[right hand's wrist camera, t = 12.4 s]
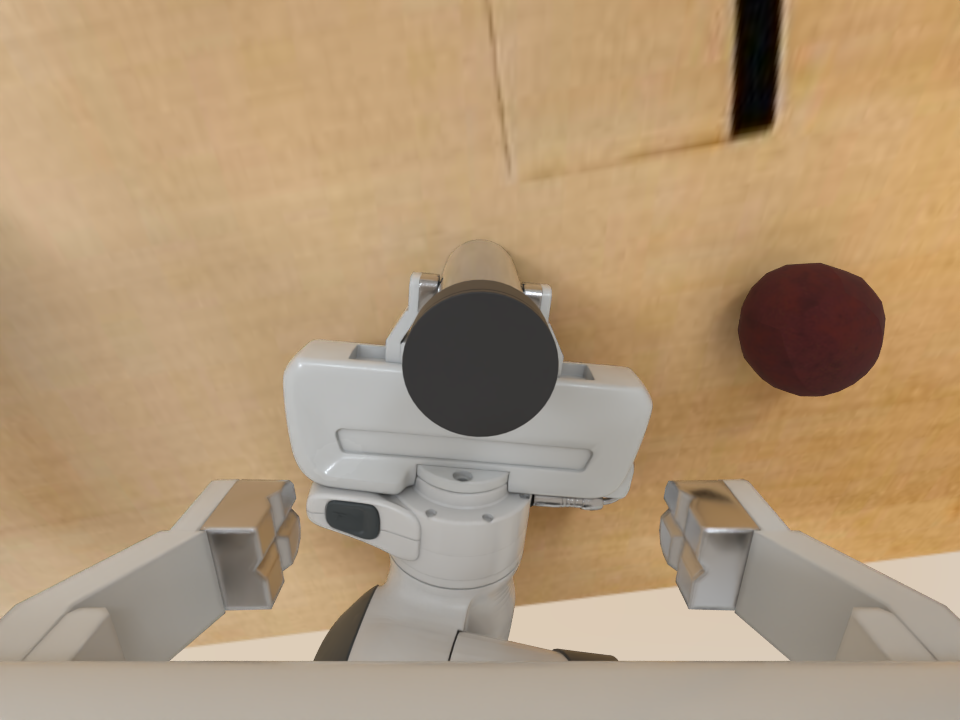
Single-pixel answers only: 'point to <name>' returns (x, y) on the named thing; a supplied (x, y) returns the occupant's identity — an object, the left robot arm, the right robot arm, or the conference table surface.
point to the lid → (480, 359)
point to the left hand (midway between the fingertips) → (480, 279)
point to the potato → (811, 328)
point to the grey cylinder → (479, 265)
